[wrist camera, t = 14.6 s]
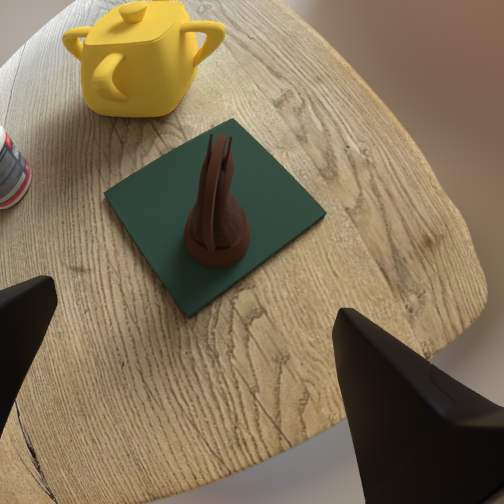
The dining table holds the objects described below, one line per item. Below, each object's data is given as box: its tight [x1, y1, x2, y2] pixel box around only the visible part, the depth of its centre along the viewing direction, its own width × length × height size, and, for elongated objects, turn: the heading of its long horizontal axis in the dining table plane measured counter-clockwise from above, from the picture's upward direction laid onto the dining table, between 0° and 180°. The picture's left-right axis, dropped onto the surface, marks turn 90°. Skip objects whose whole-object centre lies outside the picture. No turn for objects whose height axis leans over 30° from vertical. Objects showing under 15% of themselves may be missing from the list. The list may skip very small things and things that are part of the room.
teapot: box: [62, 0, 226, 117], centre depth 24 cm, size 14×13×10 cm
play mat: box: [104, 118, 327, 318], centre depth 24 cm, size 12×13×1 cm
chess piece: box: [184, 133, 250, 268], centre depth 18 cm, size 5×5×10 cm
